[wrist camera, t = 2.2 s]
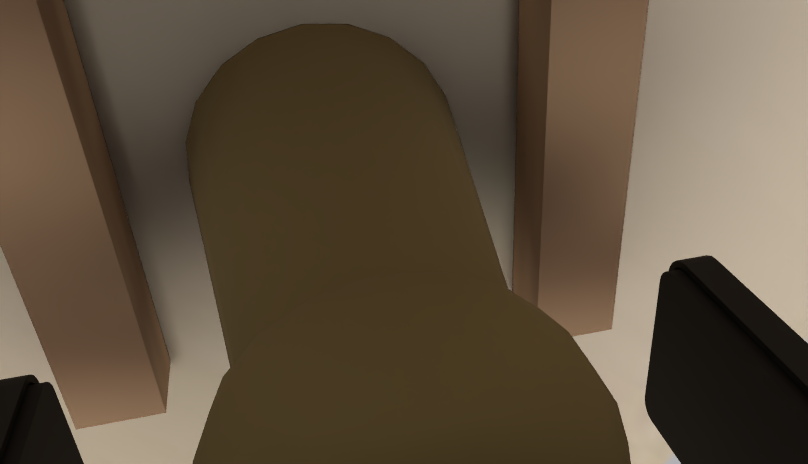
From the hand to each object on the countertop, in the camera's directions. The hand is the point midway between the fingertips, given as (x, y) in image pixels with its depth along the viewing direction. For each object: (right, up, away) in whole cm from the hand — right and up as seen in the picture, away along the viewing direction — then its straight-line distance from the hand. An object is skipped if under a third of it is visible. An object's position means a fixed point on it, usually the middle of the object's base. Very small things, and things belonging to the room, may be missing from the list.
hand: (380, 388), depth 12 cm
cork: (-1, +4, +5) cm, 7 cm away
